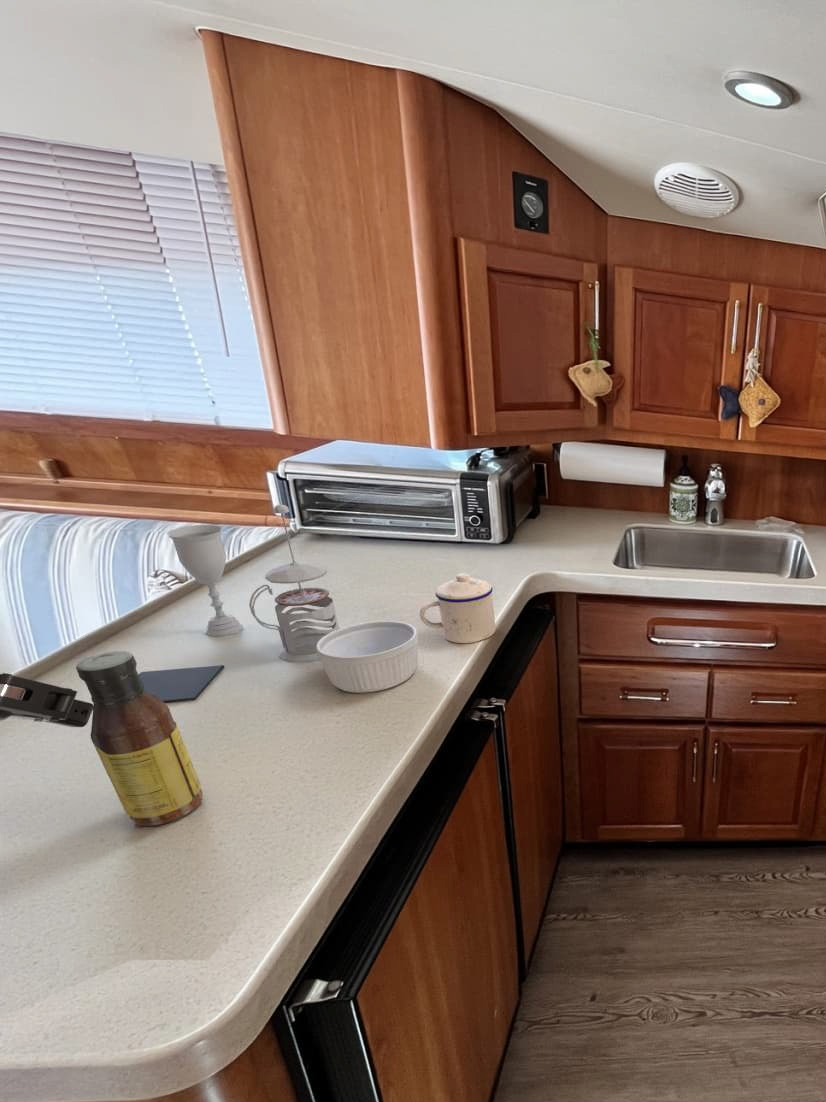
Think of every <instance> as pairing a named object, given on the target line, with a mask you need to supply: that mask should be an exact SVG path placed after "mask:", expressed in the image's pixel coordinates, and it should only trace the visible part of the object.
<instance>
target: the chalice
mask: <svg viewBox="0 0 826 1102" xmlns="http://www.w3.org/2000/svg"><path fill="white" fill-rule="evenodd" d="M222 531H223V527H222V526H220V525H215V524H197V525H196V524H194V525H193V524H192V525H187V526H181V527H177V528H173V529H171V530H168V531H167V532H166V535H167V537H169V538H170V539H171V540H172V542H173V545H174V549H175V552H176V554H177V559H178V561H179V563H180V564H181V565H182V566H183V568H184V569H185V570H186V571H187V573H189V575H191V577H193V578H194V579H195V580H196V581H197V582H198V583H199V584H201V585H205V586H207V587H208V593H207V596H208V597H210V599H211V604H210V607H213V609H214V610H215V614H214V616H212V617H210V619H209V620H208V621H207V626H206V630H205V634H206V635H207V636H209V637H210V636H212V637H220V636H227V635H232V634H234V633H237V632H239V631H241V630H243V629H244V625H243V623H241V622H240V621H239V619H237V618H236V616H234V615H233V614H227V613H226V612H224V611H223V606H224V604H225V603H224V602H223V601H221V599H220V595H221V593H220V591H218V589H217V588H216V584H217V583H219V582H221V580H222V577H223V574H224V570H225V567H226V561H227V553H226V550H225V546H224V543H223V539H222V535H221V534H222Z"/></svg>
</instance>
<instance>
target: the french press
mask: <svg viewBox="0 0 826 1102" xmlns="http://www.w3.org/2000/svg"><path fill="white" fill-rule="evenodd" d="M273 512H274V514H280V515H281V518H282V522H283V527H284V531H285V535H286V539H287V542H288V546H289V547H288V548H289V551H290V555H291V559H292V562H286V563H284V564H281V565H278V566H276V567H273V568H271V569H270V570H269V571H268V572H266V573H265V574H264V579H265V580H267V581H268V582H269V583H272V584H280V585H281V584H298V588H296V589H292V590H287V591H284V592H282V593H279V594H278V595H277V596H276V597H274V602H275V603H276V604H275V606H274V611H275V614H276V618H277V622H278V625H277V624H271V623H266V622H264V621H262V620H261V619H259V617H258V616H256V611H255V605H256V601H257V599H258V597H259V596H260V595H261V594H262V593H263V592H265V591H267V590H268V591H267V592H268V593H269V595H271V596H273V595H274V594H273V589H272V588H271V587H270V585H268V584H262V585H261V586H259V587H258V588H256V589H255V590H254V592H253V593H252V594H251V596H250V599H249V609H250V613H251V615H252V616H253V618H254V619H255V620H256V622H257V623H258V624H259V625H260V626H262V627H263V628H266V629H269V630H275V631H278V633H279V637H280V641H281V644H282V647H281V649H280V650H279V651H278V657H279V658H280V659H282V660H283V661H287V662H294V663H302V662H314V661H318V660H321V659H320V658H319V657H318V654H317V649H316V645H317V643H318V641H319V640H320V639H321V638H323V637H324V636H325V635H327V634H329V633H331V632H333V631H335V630H338V629H340V627H339V622H338V616H337V614H336V608H335V603H334V600H333V598H332V597H330V596H329V595H330V591H329V590H328V589H325V588H322V587H303V588H302V586H301V583H306V582H310V581H314V580H318V579H320V578H323V577H324V576H325V575H326V574H327V572H328V567H326V566H324V565H322V564H319V563H315V562H309V561H295V558H294V557H295V556H294V553H293V549H292V545H291V542H290V538H289V537H290V536H289V532H288V529H287V525H286V520H285V516H284V514H286V513H289V512H290V509H289V506H287V505H286V504H277V505H275V506H274V508H273ZM264 587H265V588H264ZM263 588H264V589H263ZM261 589H262V590H261ZM259 590H260V591H259ZM258 591H259V592H258ZM304 606H312V607H317V608H319V609H314V608H311V607H304ZM288 607H291V608H290V609H288V610H286V609H287V608H288ZM284 610H286V611H285V612H283V611H284ZM300 611H303V612H300ZM294 612H298V613H294ZM299 612H300V613H299ZM310 620H316V621H321V622H315V621H310ZM314 627H319V628H325V629H319V628H314ZM326 628H327V629H326ZM330 628H331V629H330ZM313 660H314V661H313Z"/></svg>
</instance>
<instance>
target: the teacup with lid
mask: <svg viewBox="0 0 826 1102" xmlns="http://www.w3.org/2000/svg"><path fill="white" fill-rule="evenodd" d="M492 592H493V587H492V585H491V584H490V583H489V582H488V581H486V580H484V579H478V578H473V577H470V575H469V574H468V573H466V572H462V573H458V574H456V578H454V579H453V580H452V579H451V581H447V582H445V583H442V584H441V585H439V586H438V587H437V589H436V591H435V597H436V598H437V600H434V601H433V600H432V601H429V602H426V603H424V604H423V605H422V606H421V607H420V608H419V613H418V614H419V618H420V620H421V621H422V623H423V624H424V625H425V626H427V627H429V628H433V629H440V628H441V629H442V635H443V637H444V639H446V641H448V642H450V643H455V644H471V643H476V642H480V640H481V641H483V640H482V639H484V640H486V639H488V638H490V637H492V636H493V635H494V634H495V633H496V630H497V628H496V620H495V610H494V601H493V594H492ZM434 607H438V609H439V616H440V622H431V621H429V620H428V619H427V618H426V616H425V612H426V611H427V610H428V609H430V608H434ZM485 638H486V639H485Z"/></svg>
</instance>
